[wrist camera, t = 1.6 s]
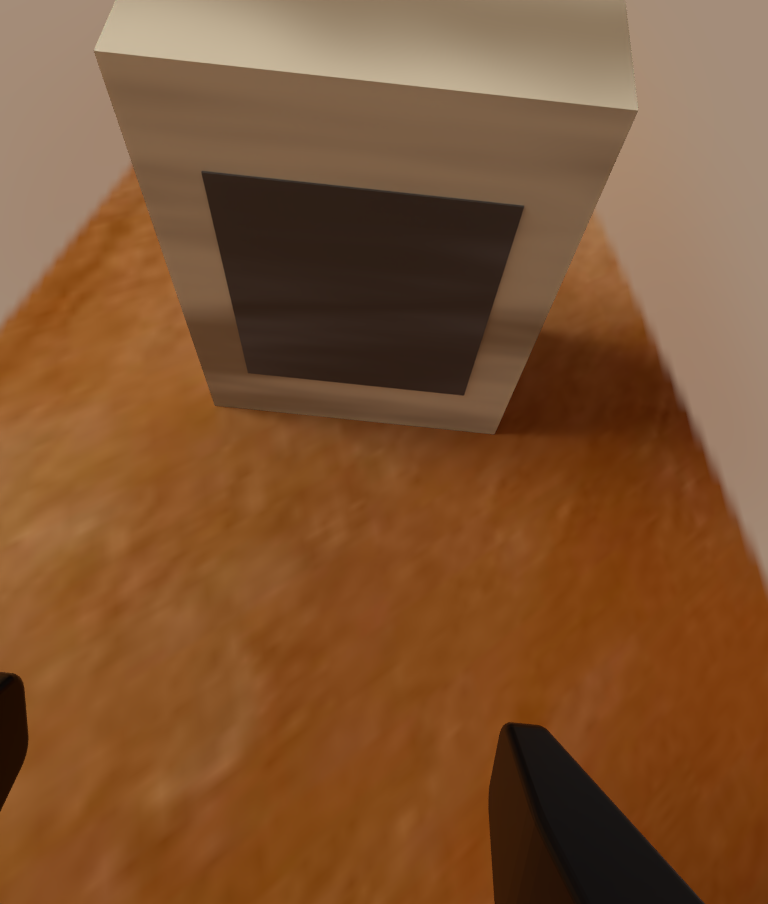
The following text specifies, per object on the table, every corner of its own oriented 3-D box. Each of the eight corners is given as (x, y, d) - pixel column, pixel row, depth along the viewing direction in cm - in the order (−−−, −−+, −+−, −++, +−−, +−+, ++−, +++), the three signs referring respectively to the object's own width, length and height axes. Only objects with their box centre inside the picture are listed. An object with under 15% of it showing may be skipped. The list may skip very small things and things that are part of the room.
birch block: (494, 436, 24) (638, 112, 12) (214, 406, 24) (92, 52, 12) (496, 321, 26) (619, -45, 15) (240, 294, 26) (157, -98, 14)
